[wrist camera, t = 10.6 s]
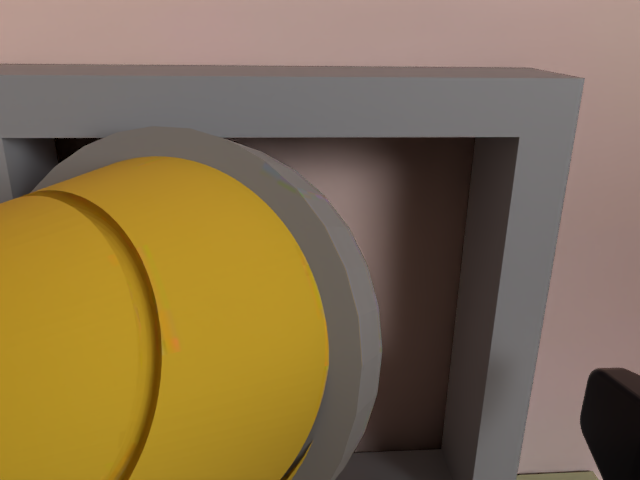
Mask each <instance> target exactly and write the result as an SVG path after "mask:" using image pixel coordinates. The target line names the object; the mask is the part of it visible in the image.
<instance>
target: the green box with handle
mask: <svg viewBox="0 0 640 480" xmlns="http://www.w3.org/2000/svg"><path fill="white" fill-rule="evenodd" d="M584 79H585V78H580V77H575V76H570V75H564V74H559V73H554V72H549V71H544V70H539V69H534V68H489V67H352V66H215V65H77V64H0V204H1V203H3V202H6V201H9V200H12V199H15V198H19V197H21V196H23V195H26V194H29V193H30V192H31V191H32V190H33V189H34V188H35V187H36V186H37V185H38V184H39V183H40V182H41V181H42V180H43V179H44V178H45V177H46V175H47V174H48V173H49V172H50V171H51V170H52V169H53V168H54V167H55V166H56V165H58V160H57V154H56V147H55V141H54V138H105V137H107V136H109V135H112V134H114V133H117V132H122V131H128V130H133V129H139V128H145V127H151V126H159V127H175V128H191V129H194V130H197V131H201V132H204V133H207V134H211V135H214V136H217V137H221V138H281V137H475V144H474V153H473V162H472V171H471V181H470V190H469V199H468V208H467V217H466V226H465V236H464V245H463V254H462V263H461V272H460V281H459V291H458V300H457V309H456V318H455V327H454V337H453V346H452V355H451V364H450V373H449V382H448V392H447V401H446V410H445V419H444V428H443V437H442V447H441V449H433V450H410V451H386V452H363V453H353V454H352V456H351V457H350V459H349V461H348V463H347V464H346V466H345V468H344V469H343V470H342V472H341V473H340V474H339V475H338V477H337V478H336V479H335V480H598V478H597V477H596V475H595V474H594V473H593V471H591V472H570V473H548V474H527V475H517V472H518V466H519V460H520V454H521V448H522V442H523V436H524V431H525V425H526V419H527V413H528V407H529V401H530V395H531V390H532V384H533V378H534V372H535V366H536V360H537V354H538V349H539V343H540V337H541V331H542V325H543V319H544V313H545V308H546V302H547V296H548V290H549V284H550V278H551V272H552V267H553V261H554V255H555V249H556V243H557V237H558V231H559V225H560V220H561V214H562V208H563V202H564V196H565V190H566V184H567V179H568V173H569V167H570V161H571V155H572V149H573V143H574V138H575V132H576V126H577V120H578V114H579V108H580V102H581V97H582V91H583V85H584Z"/></svg>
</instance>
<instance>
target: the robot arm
mask: <svg viewBox="0 0 640 480" xmlns="http://www.w3.org/2000/svg"><path fill="white" fill-rule="evenodd" d="M580 424H581V429H582V433H583V436H584V438H585V440H586V442H587V445H588V447H589V449H590V451H591V453H592V456H593V458H594V460H595V462H596V465H597V467H598V469H599V471H600V473H601V476H602V478H603V480H640V375H638V374H636V373H633V372H631V371H629V370H627V369H624V368H597V369H595V370H593V371H592V372H591V373H590V375H589V378H588V381H587V386H586V391H585V396H584V400H583V405H582V410H581V415H580Z"/></svg>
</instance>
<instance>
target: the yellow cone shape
mask: <svg viewBox="0 0 640 480" xmlns="http://www.w3.org/2000/svg"><path fill="white" fill-rule="evenodd" d="M381 359H382V339H381V326H380V313H379V306H378V302H377V298H376V295H375V291H374V287H373V284H372V280H371V276H370V273H369V269H368V266H367V264H366V262H365V260H364V258H363V255H362V253H361V251H360V249H359V247H358V245H357V243H356V241H355V239H354V237H353V235H352V233H351V231H350V229H349V227H348V226H347V225H346V223H345V222H344V221H343V220H342V218H341V217H340V216H339V214H338V213H337V212H336V210H335V209H334V208H333V206H332V205H331V204H330V202H329V201H328V200H327V199H326V197H325V196H324V195H323V194H322V193H321V192H320V191H318V190H317V189H316V188H315V187H314V186H313V185H312V184H310V183H309V182H308V181H307V180H306V179H305V178H304V177H302V176H301V175H300V174H299V173H298V172H297V171H296V170H294V169H292V168H290V167H289V166H287V165H285V164H283V163H282V162H280V161H278V160H276V159H274V158H273V157H271V156H269V155H267V154H265V153H264V152H261V151H259V150H256V149H253V148H250V147H247V146H244V145H242V144H239V143H236V142H233V141H230V140H227V139H224V138H221V137H217V136H214V135H211V134H207V133H204V132H201V131H197V130H194V129H191V128H175V127H159V126H151V127H145V128H139V129H133V130H128V131H122V132H117V133H114V134H112V135H109V136H107V137H105V138H102V139H100V140H98V141H95V142H93V143H90V144H88V145H86V146H84V147H82V148H81V149H79V150H78V151H76V152H75V153H74V154H72V155H71V156H69V157H68V158H66V159H65V160H64V161H62V162H61V163H59V164H58V165H56V166H55V167H54V168H53V169H52V170H51V171H50V172H49V173H48V174H47V175H46V177H45V178H44V179H43V180H42V181H41V182H40V183H39V184H38V185H37V186H36V187H35V188H34V189H33V190H32V191H31V192H30V193H29V194H26V195H23V196H21V197H19V198H15V199H12V200H9V201H6V202H3V203H1V204H0V480H335V479H336V478H337V477H338V475H339V474H340V473H341V472H342V470H343V469H344V468H345V466H346V464H347V463H348V461H349V459H350V457H351V456H352V454H353V452H354V451H355V449H356V447H357V445H358V444H359V442H360V440H361V438H362V437H363V435H364V433H365V430H366V427H367V424H368V421H369V418H370V415H371V412H372V409H373V406H374V403H375V399H376V396H377V393H378V384H379V376H380V367H381Z"/></svg>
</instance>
